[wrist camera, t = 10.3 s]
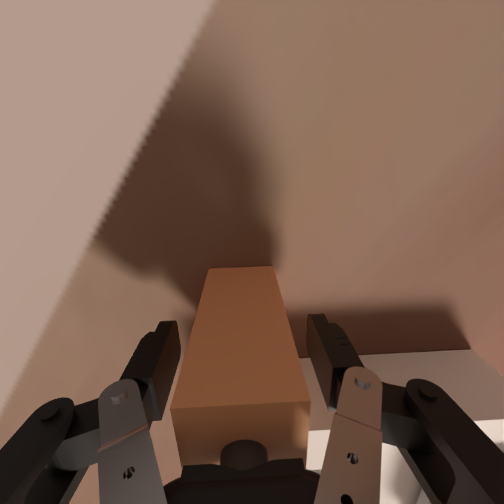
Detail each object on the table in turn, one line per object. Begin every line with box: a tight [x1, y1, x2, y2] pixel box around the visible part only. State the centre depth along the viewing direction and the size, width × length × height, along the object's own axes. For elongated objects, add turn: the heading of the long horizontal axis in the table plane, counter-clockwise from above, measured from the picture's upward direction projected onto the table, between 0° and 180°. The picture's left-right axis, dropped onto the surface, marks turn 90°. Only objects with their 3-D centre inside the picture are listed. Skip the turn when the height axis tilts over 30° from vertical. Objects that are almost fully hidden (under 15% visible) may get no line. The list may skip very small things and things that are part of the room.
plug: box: [170, 266, 311, 470], centre depth 11 cm, size 4×4×11 cm
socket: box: [299, 349, 504, 504], centre depth 18 cm, size 12×17×5 cm
